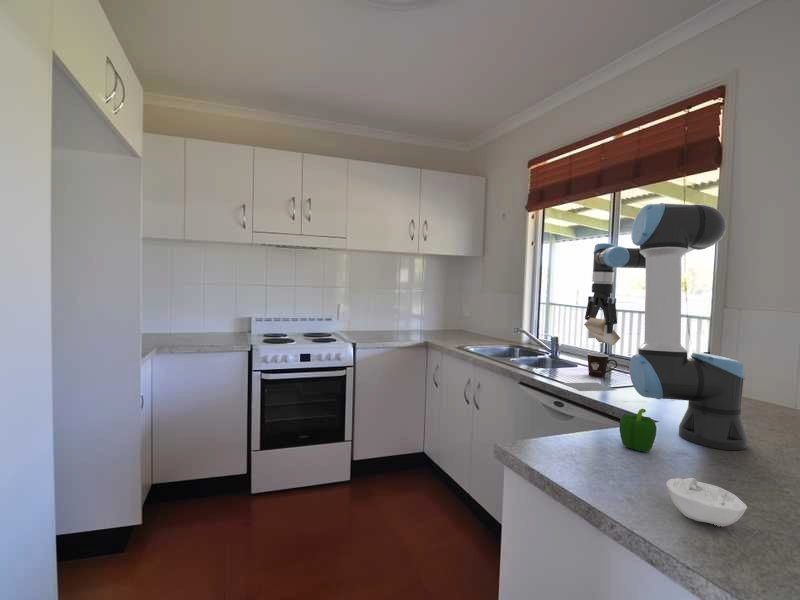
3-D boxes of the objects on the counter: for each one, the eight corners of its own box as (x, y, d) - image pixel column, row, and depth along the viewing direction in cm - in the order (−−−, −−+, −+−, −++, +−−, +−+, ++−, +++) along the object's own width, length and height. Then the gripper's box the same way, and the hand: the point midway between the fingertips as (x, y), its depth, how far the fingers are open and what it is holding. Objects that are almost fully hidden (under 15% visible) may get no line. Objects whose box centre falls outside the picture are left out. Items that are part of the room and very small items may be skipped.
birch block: (605, 334, 178) (590, 317, 176) (620, 338, 169) (605, 319, 167) (598, 341, 177) (584, 324, 176) (613, 345, 169) (598, 327, 167)
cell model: (732, 546, 70) (735, 505, 70) (653, 512, 80) (656, 476, 80) (753, 527, 76) (756, 489, 76) (677, 497, 86) (680, 464, 85)
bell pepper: (636, 456, 105) (639, 416, 105) (611, 443, 113) (613, 405, 113) (664, 453, 108) (666, 414, 107) (637, 441, 116) (640, 404, 115)
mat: (596, 383, 180) (596, 382, 180) (616, 391, 168) (616, 390, 168) (561, 384, 177) (561, 383, 177) (579, 392, 165) (579, 390, 165)
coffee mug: (581, 375, 195) (583, 353, 194) (595, 374, 198) (596, 352, 198) (603, 381, 184) (605, 358, 184) (617, 380, 188) (619, 357, 187)
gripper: (630, 284, 161) (626, 344, 162) (593, 282, 182) (590, 336, 184) (612, 283, 160) (609, 344, 161) (577, 282, 181) (574, 335, 182)
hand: (599, 339), depth 172 cm, fingers closed on birch block, 9 cm apart
